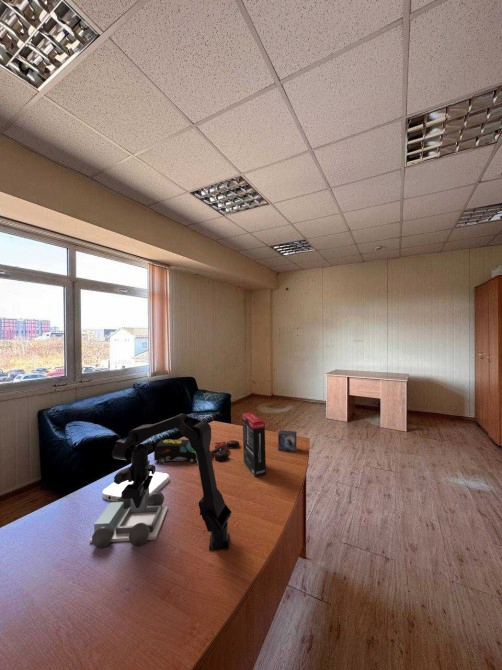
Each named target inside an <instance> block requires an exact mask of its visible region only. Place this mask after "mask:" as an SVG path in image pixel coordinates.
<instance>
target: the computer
mask: <svg viewBox="0 0 502 670" xmlns="http://www.w3.org/2000/svg"><path fill="white" fill-rule="evenodd" d="M149 476H153V478H152V480H151V483H150V485H149V497H150V495H151V494H152V493H153V492H156V491H159V492H160V490H161V489H162V488H163V487H165V485H167V484H168V483H169V480H170V477H169V476H170V475H169V474H168V473H165V472H161V471H159V472H158V471H155V473H154V474H152V471H150V474H149ZM128 484H133V481H132V482H128V480H127V481H125V482H122V483H121V484H119V485H118V484H116V483H114V482H112V483H111V484H110V485H108V486H107V487H106V488H104V489H103V490H102V499H104V500H105V501H107V500H108V501H113V502H117V501H118V499H119V498H120V497H121V492H122V491H123V490H124V488H125V487H126V486H127V485H128Z"/></svg>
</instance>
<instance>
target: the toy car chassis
mask: <svg viewBox="0 0 502 670" xmlns="http://www.w3.org/2000/svg"><path fill="white" fill-rule="evenodd" d="M164 501H165V495H164V494H163V493H162V492H161V491H160V490H159V491H156V492H153V493H152V494H151V495H150V497H149V504H148V506H147V508H146V510H145V511H139V512H131V498H130V499H122V498H121V497H120V498H119V499H118V501H113V502H110V503H109V504H108V505H107V507H106V508H105V509H104V511H103V512H102V513H101V514H100V516H99V517H98V519H97V520H96V521H95V523H94V525H93V530H94V532H93V534H92V536H91V538H90V539H89V544H92V545H93V546H94V547H96V548H99V549H103V548H106V547H107V546H108V545H109V544H110V543H112V542H130V544H131V545H133V546H136V547H140V546H143V545H144V544H145V543H146V542H147V541H148V540H149V541H152V540H157V537H158V535H159V532H160V529H161V527H162V524H163V522H164V519H165V517H166V514H167V512H168V510H169V509H168V508H169V506H162V505H164V504H163V503H164Z"/></svg>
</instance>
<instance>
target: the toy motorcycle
mask: <svg viewBox="0 0 502 670" xmlns="http://www.w3.org/2000/svg"><path fill="white" fill-rule="evenodd" d="M213 444H214V449H213V450H210V453H211V458H212V456H213V457H214V459H215V460H217V461H225V460H227V459H228V458H229V449H235V448H239V447H240V442H239V441H238V440H228V441H227V442H226V441H220V442H219V441H218V442H214V443H213Z"/></svg>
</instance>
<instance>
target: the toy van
mask: <svg viewBox="0 0 502 670" xmlns="http://www.w3.org/2000/svg"><path fill="white" fill-rule="evenodd" d="M153 456H154V457H153V461H157V462H158V463H159V464H167V462H168V461H169V462H170V461H171V462H172V461H175V462H176V461H179V462H180V461H182V462H183V461H188V463H189V464H195V463H196V461H197V456H196V452H195V451H194V449H193V448H192V447H191V445H190V443H189V440H188V439H178V438H177V439H160V441H159V442H158V443H157V444H156V446H155V448H154V452H153Z"/></svg>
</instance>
